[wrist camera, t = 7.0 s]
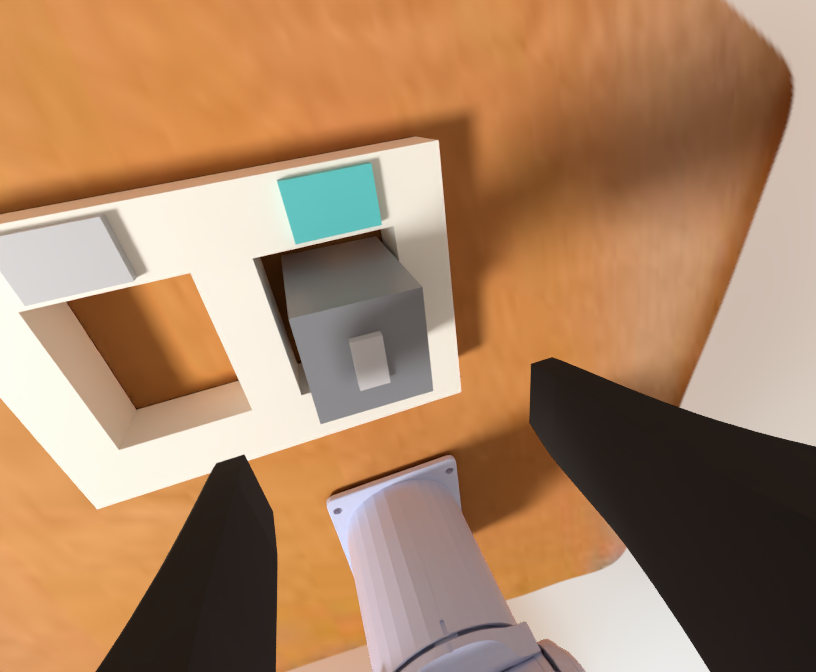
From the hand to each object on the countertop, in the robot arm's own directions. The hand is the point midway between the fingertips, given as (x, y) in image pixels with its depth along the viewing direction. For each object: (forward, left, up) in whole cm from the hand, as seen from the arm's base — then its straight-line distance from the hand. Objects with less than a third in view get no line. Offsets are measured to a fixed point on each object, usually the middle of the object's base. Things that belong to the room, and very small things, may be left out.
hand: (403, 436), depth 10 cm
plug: (0, 0, -10) cm, 10 cm away
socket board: (0, +4, -9) cm, 10 cm away
